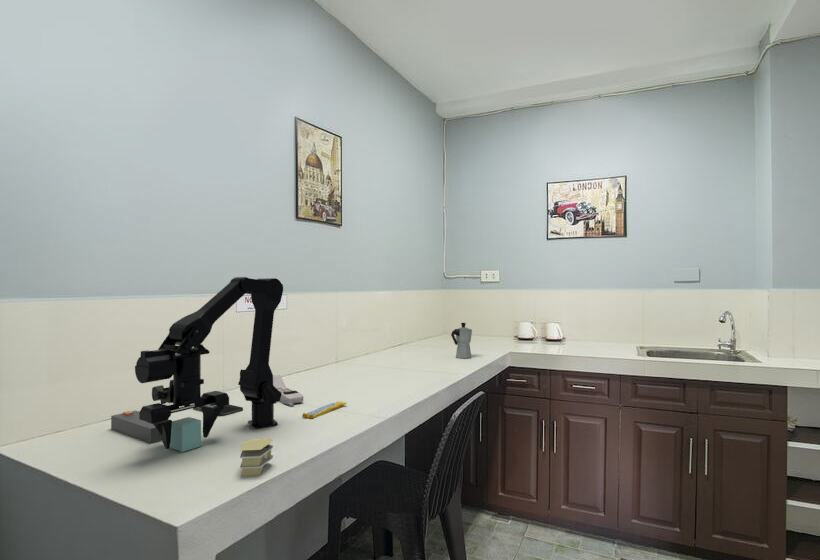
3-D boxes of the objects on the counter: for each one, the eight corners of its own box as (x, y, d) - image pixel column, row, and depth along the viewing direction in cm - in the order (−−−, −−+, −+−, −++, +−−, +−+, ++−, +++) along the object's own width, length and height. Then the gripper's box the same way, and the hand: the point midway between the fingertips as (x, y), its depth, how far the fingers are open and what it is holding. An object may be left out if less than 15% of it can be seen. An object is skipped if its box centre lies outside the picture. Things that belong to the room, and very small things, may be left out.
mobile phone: (279, 374, 164) (307, 386, 144) (279, 390, 164) (307, 405, 144) (262, 376, 161) (288, 389, 140) (263, 393, 161) (289, 408, 140)
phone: (221, 414, 131) (191, 406, 139) (221, 418, 131) (191, 410, 139) (244, 407, 138) (214, 401, 146) (244, 411, 138) (214, 404, 146)
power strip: (175, 436, 114) (175, 420, 114) (150, 443, 109) (150, 426, 109) (135, 423, 125) (135, 408, 125) (111, 429, 120) (111, 413, 120)
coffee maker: (465, 355, 243) (465, 321, 243) (478, 357, 236) (478, 322, 237) (445, 358, 234) (445, 323, 234) (458, 360, 227) (457, 324, 227)
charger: (201, 446, 106) (201, 420, 106) (182, 452, 103) (182, 425, 103) (182, 440, 111) (182, 415, 111) (164, 445, 107) (164, 419, 107)
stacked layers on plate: (273, 480, 89) (273, 452, 89) (225, 482, 88) (225, 453, 88) (283, 460, 99) (283, 435, 99) (240, 462, 98) (240, 436, 98)
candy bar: (311, 421, 127) (311, 415, 128) (299, 419, 130) (299, 413, 130) (347, 407, 142) (347, 401, 142) (336, 405, 144) (336, 399, 144)
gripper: (204, 366, 118) (204, 426, 118) (127, 378, 103) (126, 448, 102) (230, 370, 112) (230, 434, 112) (152, 384, 96) (152, 458, 96)
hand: (186, 442), depth 106 cm, fingers open, 9 cm apart
